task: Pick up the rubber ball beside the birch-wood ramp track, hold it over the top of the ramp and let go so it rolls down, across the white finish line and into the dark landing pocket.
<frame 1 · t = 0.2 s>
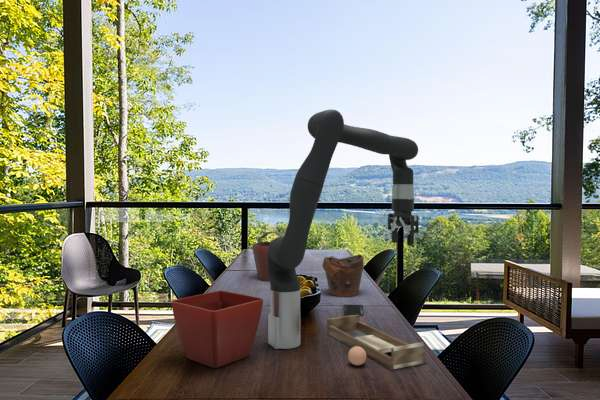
hand: (402, 244, 167), 29 cm above the table, tool pointing down, fingers open, 8 cm apart
track: (380, 351, 142), on the table
plant pot: (218, 358, 138), on the table
phone: (353, 312, 189), on the table
bucket: (275, 278, 255), on the table
terracotta flower pot: (343, 294, 219), on the table
ball: (357, 355, 132), point 2 cm above the table
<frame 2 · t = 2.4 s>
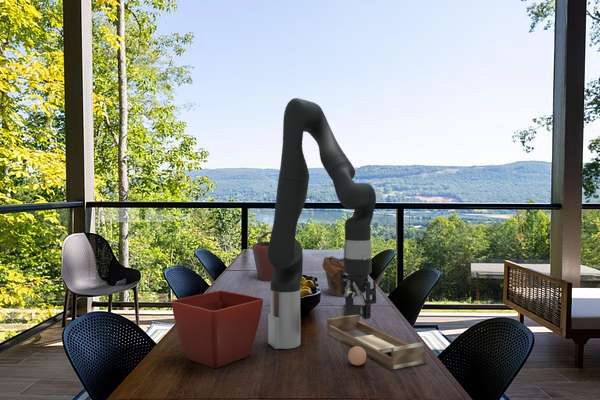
hand: (357, 314, 132), 14 cm above the table, tool pointing down, fingers open, 8 cm apart
nothing on the table moved.
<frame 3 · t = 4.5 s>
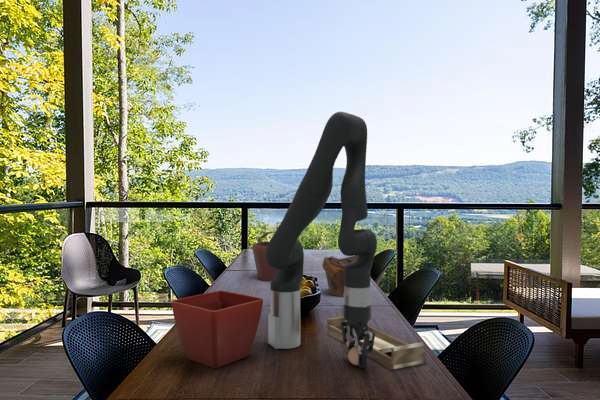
hand: (357, 363, 132), 0 cm above the table, tool pointing down, fingers closed on ball, 5 cm apart
ball: (357, 355, 132), point 2 cm above the table, touching gripper
everything else where it was.
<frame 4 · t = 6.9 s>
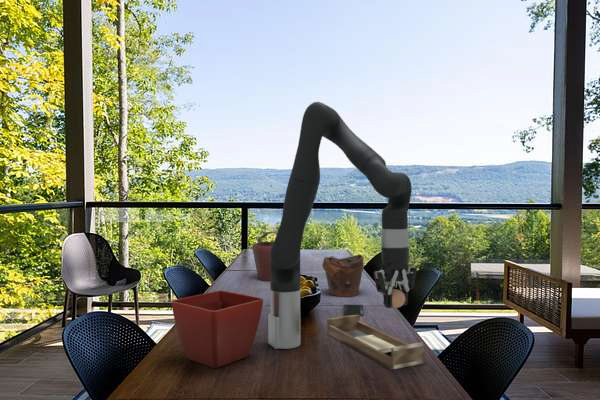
hand: (396, 305, 133), 16 cm above the table, tool pointing down, fingers closed on ball, 5 cm apart
ball: (396, 298, 133), point 18 cm above the table, touching gripper
everything else where it was.
when the fingers open (6 cm above the table, at t = 9.6 s): ball drops 5 cm and tips over, resting on track.
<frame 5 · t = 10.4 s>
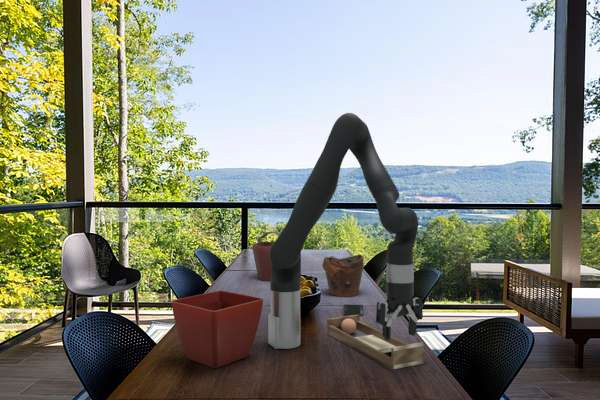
hand: (399, 337, 134), 7 cm above the table, tool pointing down, fingers open, 8 cm apart
ball: (348, 326, 159), point 3 cm above the table, tilted 45°, touching track
everything else where it was.
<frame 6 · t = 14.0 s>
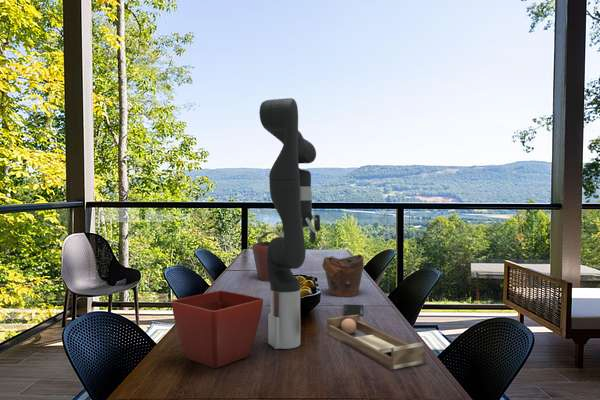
hand: (301, 243, 175), 28 cm above the table, tool pointing down, fingers open, 8 cm apart
nothing on the table moved.
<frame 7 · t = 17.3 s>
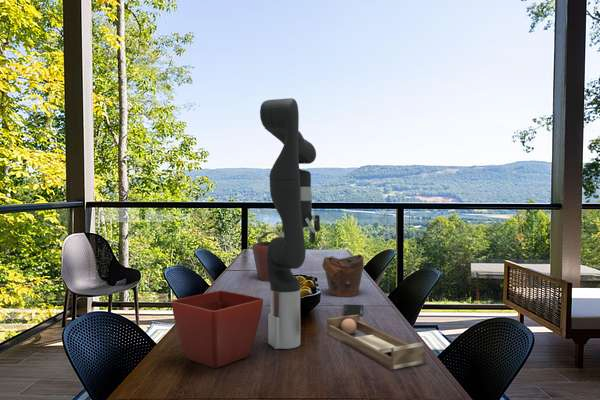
hand: (301, 243, 175), 28 cm above the table, tool pointing down, fingers open, 8 cm apart
nothing on the table moved.
at the end: ball inside the target area on the track (1.9 cm from its centre), point 2.7 cm above the track's base; the gripper is holding nothing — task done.
